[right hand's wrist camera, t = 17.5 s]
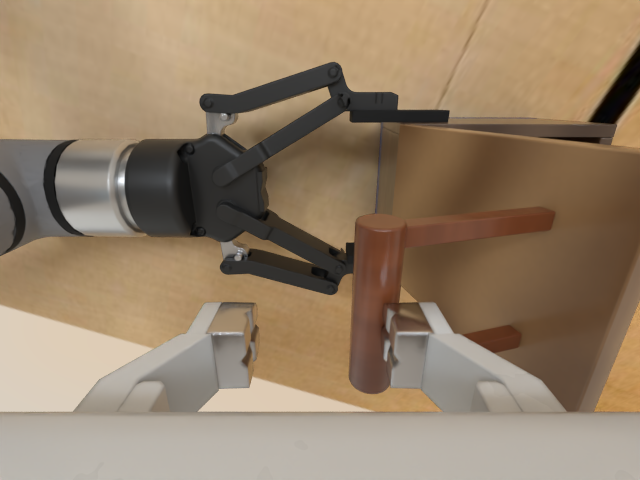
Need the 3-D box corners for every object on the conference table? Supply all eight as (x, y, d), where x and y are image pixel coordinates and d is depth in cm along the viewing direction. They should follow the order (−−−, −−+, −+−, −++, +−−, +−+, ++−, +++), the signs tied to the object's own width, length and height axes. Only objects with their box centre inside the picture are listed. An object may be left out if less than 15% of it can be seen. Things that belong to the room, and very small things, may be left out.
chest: (530, 117, 30) (618, 124, 21) (506, 225, 34) (572, 270, 25) (381, 117, 30) (404, 123, 21) (374, 224, 34) (391, 268, 25)
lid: (702, 154, 8) (421, 170, 6) (584, 438, 12) (383, 506, 10) (413, 124, 21) (283, 126, 19) (398, 270, 24) (289, 286, 22)
